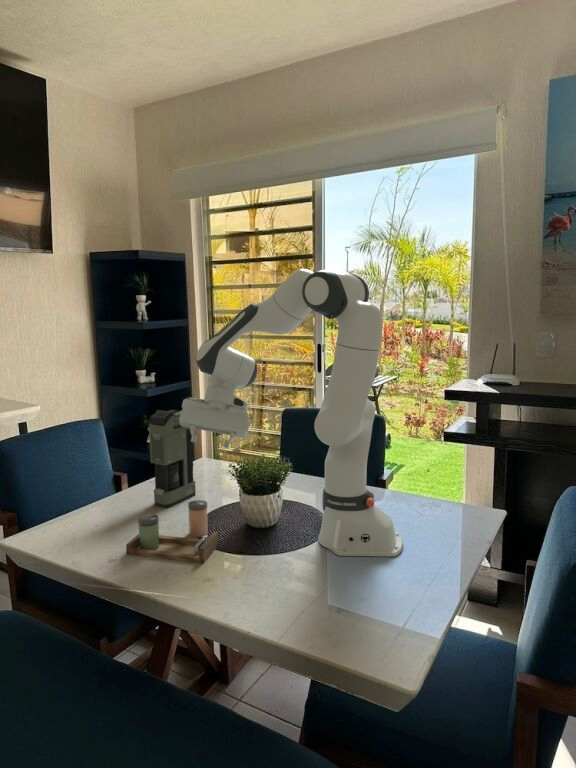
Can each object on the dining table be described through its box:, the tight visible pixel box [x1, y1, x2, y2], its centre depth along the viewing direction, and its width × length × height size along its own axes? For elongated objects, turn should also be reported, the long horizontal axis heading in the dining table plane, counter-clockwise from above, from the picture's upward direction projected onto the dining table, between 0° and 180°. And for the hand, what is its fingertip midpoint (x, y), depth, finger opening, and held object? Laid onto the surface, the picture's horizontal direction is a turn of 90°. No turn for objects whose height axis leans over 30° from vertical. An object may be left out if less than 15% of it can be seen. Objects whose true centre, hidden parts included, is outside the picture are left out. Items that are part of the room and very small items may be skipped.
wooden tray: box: [125, 531, 219, 564], centre depth 141 cm, size 21×10×4 cm, turn 77°
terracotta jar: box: [187, 499, 209, 538], centre depth 150 cm, size 5×5×9 cm
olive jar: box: [137, 514, 160, 550], centre depth 142 cm, size 5×5×8 cm
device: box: [148, 409, 196, 509], centre depth 175 cm, size 14×8×30 cm, turn 150°
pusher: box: [194, 535, 209, 555], centre depth 139 cm, size 2×6×3 cm, turn 167°
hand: (209, 444), depth 156 cm, fingers open, 8 cm apart
